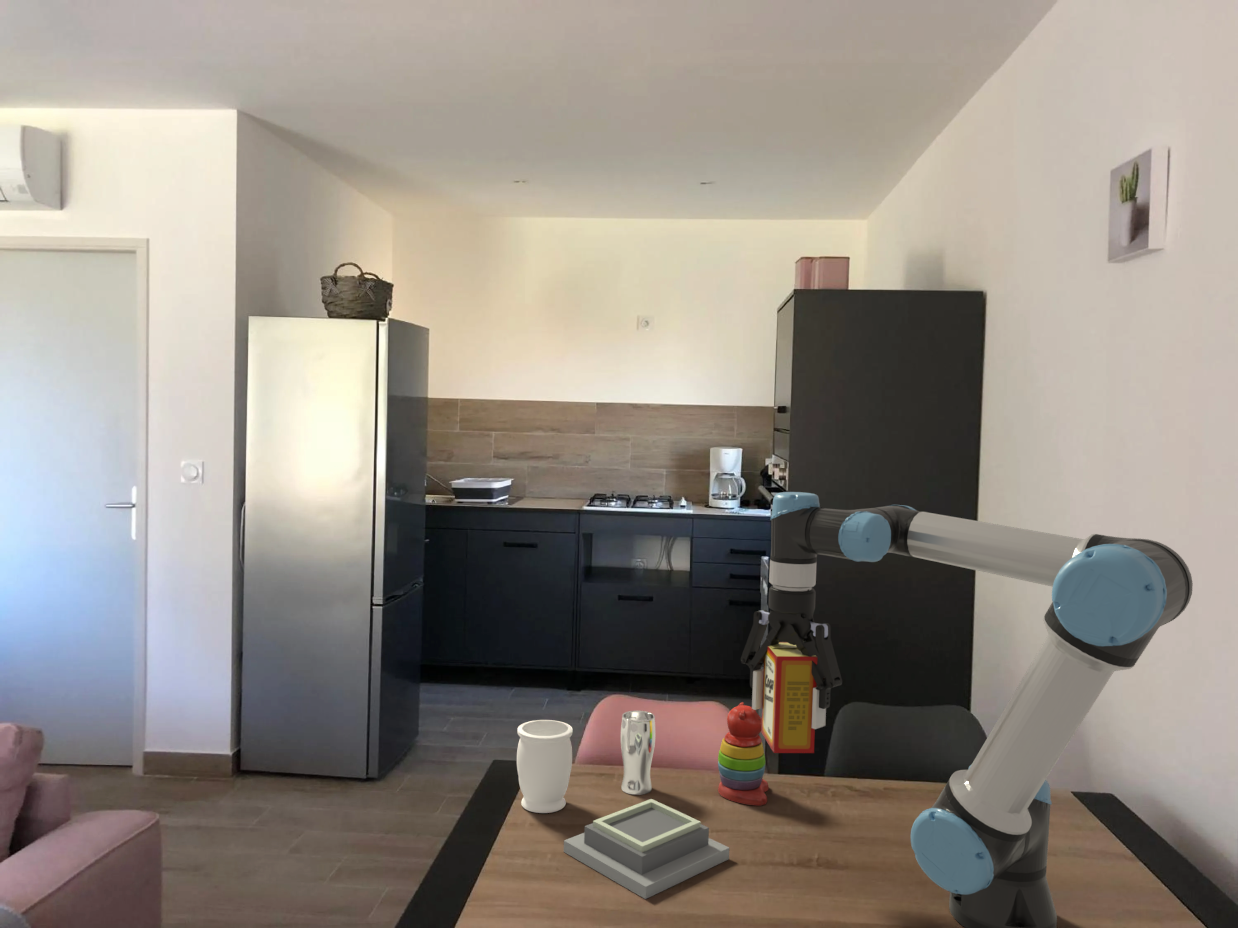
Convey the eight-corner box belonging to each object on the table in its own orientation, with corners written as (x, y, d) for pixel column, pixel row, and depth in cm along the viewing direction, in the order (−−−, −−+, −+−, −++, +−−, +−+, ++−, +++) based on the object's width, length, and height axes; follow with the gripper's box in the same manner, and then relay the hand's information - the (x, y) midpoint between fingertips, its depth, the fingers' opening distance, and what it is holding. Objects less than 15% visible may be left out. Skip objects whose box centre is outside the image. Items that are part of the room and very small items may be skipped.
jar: (506, 811, 173) (508, 733, 172) (528, 790, 183) (529, 716, 182) (559, 820, 170) (561, 740, 169) (578, 798, 180) (580, 722, 179)
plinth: (729, 858, 157) (730, 824, 156) (645, 898, 143) (646, 861, 143) (646, 818, 171) (647, 787, 171) (563, 851, 158) (564, 817, 157)
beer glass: (657, 784, 187) (659, 712, 186) (649, 798, 181) (651, 723, 180) (624, 779, 189) (626, 708, 188) (615, 793, 182) (617, 719, 182)
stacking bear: (766, 807, 178) (770, 717, 177) (714, 801, 180) (717, 712, 179) (769, 785, 188) (772, 700, 187) (719, 780, 190) (722, 695, 189)
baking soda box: (813, 752, 148) (817, 654, 147) (773, 752, 147) (777, 654, 147) (798, 732, 157) (802, 640, 156) (761, 732, 157) (764, 639, 156)
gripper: (868, 595, 145) (863, 731, 146) (750, 573, 162) (745, 695, 163) (841, 601, 140) (836, 742, 141) (722, 578, 157) (718, 703, 158)
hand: (787, 717), depth 152 cm, fingers closed on baking soda box, 11 cm apart
